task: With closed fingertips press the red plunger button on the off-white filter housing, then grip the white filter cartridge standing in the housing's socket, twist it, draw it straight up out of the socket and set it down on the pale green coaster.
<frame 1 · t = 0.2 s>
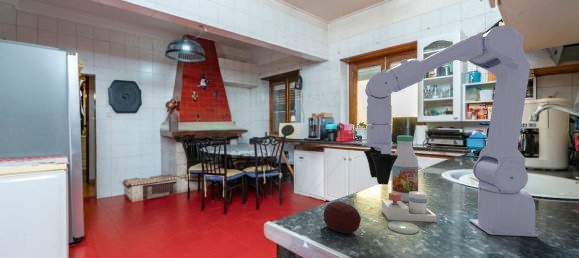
hand: (379, 180, 63), 10 cm above the countertop, tool pointing down, fingers open, 7 cm apart
housing: (417, 216, 66), on the countertop
coaster: (402, 227, 59), on the countertop
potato: (341, 231, 58), on the countertop
cartridge: (417, 216, 66), resting in housing
milk bottle: (404, 199, 82), on the countertop
plunger: (394, 201, 67), point 4 cm above the countertop, slide at 0.0 cm
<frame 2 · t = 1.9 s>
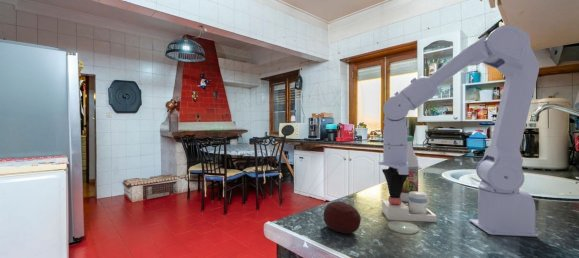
hand: (394, 197, 67), 5 cm above the countertop, tool pointing down, fingers closed, pressing on plunger
plunger: (394, 204, 67), point 3 cm above the countertop, slide at 0.8 cm, touching gripper
everything else where it was.
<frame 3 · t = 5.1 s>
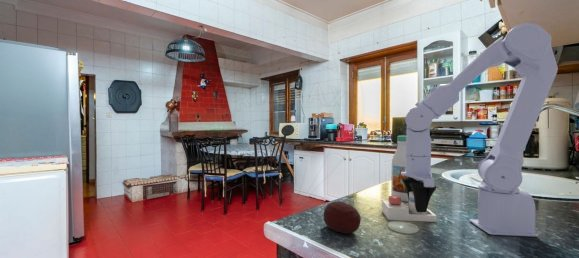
hand: (417, 208, 66), 2 cm above the countertop, tool pointing down, fingers closed on cartridge, 4 cm apart
cartridge: (417, 216, 66), resting in housing, touching gripper
plunger: (394, 204, 67), point 3 cm above the countertop, slide at 0.8 cm
everything else where it was.
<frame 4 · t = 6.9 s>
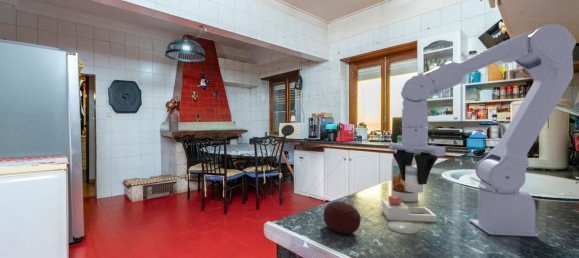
hand: (414, 182, 64), 9 cm above the countertop, tool pointing down, fingers closed on cartridge, 4 cm apart
cartridge: (413, 190, 64), point 7 cm above the countertop, touching gripper
everything else where it was.
when the fingers open (4 cm above the countertop, at t = 8.8 s): cartridge drops 1 cm, resting on coaster.
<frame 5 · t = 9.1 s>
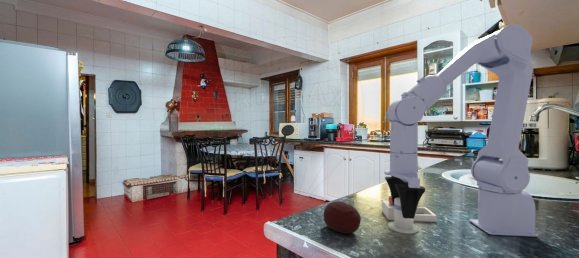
hand: (403, 212, 59), 4 cm above the countertop, tool pointing down, fingers open, 7 cm apart
cartridge: (403, 226, 59), resting on coaster
everything else where it was.
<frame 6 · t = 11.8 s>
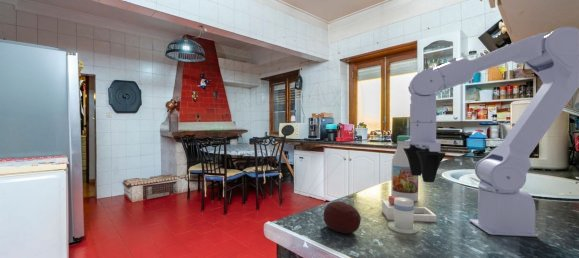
hand: (422, 178, 63), 10 cm above the countertop, tool pointing down, fingers open, 7 cm apart
nothing on the countertop moved.
at the end: cartridge 0.2 cm off-centre on the coaster, point 0.4 cm above the coaster's base; cartridge tilted 0°; plunger slide at 0.8 cm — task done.
